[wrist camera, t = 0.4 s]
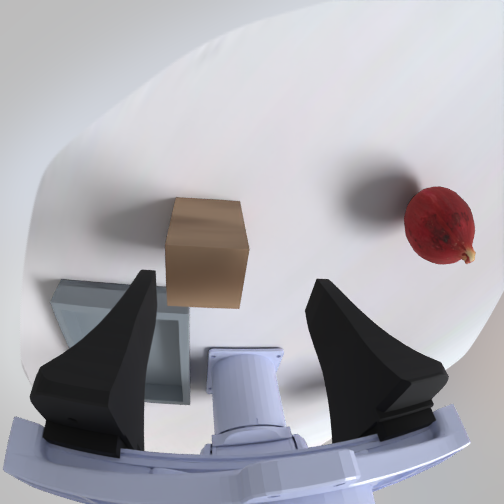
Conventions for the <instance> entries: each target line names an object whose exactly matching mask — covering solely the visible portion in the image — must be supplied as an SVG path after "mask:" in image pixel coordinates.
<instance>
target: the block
mask: <svg viewBox="0 0 504 504" xmlns="http://www.w3.org/2000/svg"><path fill="white" fill-rule="evenodd" d="M248 255H249V245H248V240H247V235H246V230H245V224H244V219H243V214H242V209H241V204H240V201H228V200H213V199H198V198H180V197H176V199H175V203H174V207H173V212H172V216H171V220H170V225H169V229H168V233H167V238H166V243H165V265H166V291H167V306H182V307H203V308H233V309H239V307H240V302H241V296H242V290H243V284H244V278H245V272H246V266H247V260H248Z"/></svg>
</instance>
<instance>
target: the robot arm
mask: <svg viewBox="0 0 504 504" xmlns="http://www.w3.org/2000/svg"><path fill="white" fill-rule="evenodd" d="M305 313H306V319H307V324H308V329H309V332H310V336H311V339H312V342H313V345H314V348H315V350H316V353H317V356H318V359H319V362H320V365H321V369H322V372H323V376H324V381H325V386H326V391H327V397H328V404H329V411H330V419H331V430H332V444H328V445H322V446H316V447H309V448H308V446H307V443H306V441H305V439H304V438H302V437H301V436H300V435H298V434H294V435H292V434H291V429H290V427H286V422H285V417H284V412H283V407H282V402H281V397H280V392H279V387H278V383H277V378H276V372H277V370H278V367H279V364H280V362H281V359H282V357H283V354H284V351H283V349H281V348H276V349H210V350H209V354H208V369H207V385H206V392H207V393H208V394H212V397H213V415H214V430H215V435H212V444H206V445H205V447H204V448H203V449H202V450H201V453H200V455H195V454H172V453H158V452H148V451H144V399H145V381H146V371H147V365H148V360H149V354H150V350H151V345H152V340H153V335H154V330H155V325H156V316H157V290H156V271H154V270H141V271H140V272H139V273H138V275H137V276H136V278H135V279H134V281H133V282H132V284H131V285H130V286H129V288H128V289H127V291H126V292H125V293H124V294H123V296H122V297H121V298H120V300H119V301H118V302H117V303H116V305H115V306H114V307H113V308H112V309H111V311H110V312H109V313H108V314H107V315H106V316H105V317H104V318H103V319H102V321H101V322H100V323H99V324H98V325H97V326H96V327H95V328H94V329H92V330H91V331H90V332H89V333H88V334H87V335H86V336H85V337H84V338H82V339H81V340H80V341H79V342H78V343H76V344H75V345H74V346H72V347H71V348H70V349H68V350H67V351H65V352H64V353H63V354H61V355H60V356H58V357H56V358H55V359H53V360H51V361H50V362H48V363H46V364H45V365H43V366H41V367H40V369H39V371H38V373H37V375H36V378H35V381H34V384H33V387H32V391H31V394H30V400H31V402H32V404H33V405H34V407H35V408H36V409H37V410H38V412H39V413H40V414H41V415H42V416H43V417H44V418H45V419H46V424H45V427H43V426H42V425H40V424H37V423H35V422H32V421H28V420H25V419H22V418H19V417H14V420H13V424H12V427H11V432H10V436H9V440H8V445H7V450H6V455H5V460H4V466H3V470H4V471H5V472H6V473H8V474H10V475H11V476H13V477H15V478H17V479H18V480H20V481H22V482H24V483H26V484H28V485H30V486H32V487H34V488H37V489H39V490H42V491H45V492H48V493H51V494H54V495H57V496H60V497H64V498H67V499H70V500H74V501H77V502H81V503H85V504H375V500H374V497H373V493H372V492H374V491H377V490H379V489H382V488H385V487H387V486H390V485H392V484H395V483H397V482H400V481H402V480H405V479H407V478H409V477H411V476H414V475H416V474H418V473H421V472H423V471H425V470H427V469H429V468H431V467H433V466H436V465H437V464H440V463H441V462H443V461H445V460H446V459H448V458H449V457H451V456H453V455H454V454H455V453H457V452H459V451H460V450H462V449H463V448H465V447H466V446H467V445H469V444H470V439H469V437H468V435H467V432H466V430H465V428H464V426H463V424H462V421H461V419H460V417H459V415H458V413H457V411H456V409H455V407H454V405H453V404H450V405H448V406H445V407H442V408H440V409H437V410H436V411H434V412H432V409H431V407H432V406H433V402H432V398H433V397H434V396H435V395H436V394H437V393H438V392H439V391H440V390H441V389H442V388H443V387H444V386H445V384H446V383H447V381H448V377H449V376H448V374H447V373H446V371H445V369H444V367H443V365H442V363H441V362H439V361H437V360H434V359H432V358H430V357H427V356H425V355H423V354H421V353H419V352H417V351H415V350H413V349H411V348H410V347H408V346H406V345H405V344H403V343H401V342H400V341H398V340H397V339H395V338H394V337H392V336H391V335H389V334H388V333H387V332H385V331H384V330H383V329H381V328H380V327H379V326H378V325H376V324H375V323H374V322H373V321H372V320H371V319H369V318H368V317H367V316H366V315H365V314H364V313H363V312H362V311H361V310H360V309H358V308H357V307H356V306H355V305H354V304H353V303H352V302H351V301H350V300H349V299H348V298H347V297H346V296H345V295H344V294H343V293H342V292H341V291H340V290H339V289H338V288H337V287H336V286H335V285H334V284H333V283H332V282H331V281H330V280H329V279H316V282H315V285H314V288H313V290H312V293H311V296H310V298H309V301H308V304H307V307H306V309H305Z"/></svg>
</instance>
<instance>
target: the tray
mask: <svg viewBox="0 0 504 504" xmlns="http://www.w3.org/2000/svg"><path fill="white" fill-rule="evenodd" d="M129 286H130V285H126V284H112V283H99V282H87V281H76V280H65V279H61V281H60V283H59V285H58V287H57V289H56V291H55V293H54V295H53V297H52V299H51V301H50V303H51V306H52V308H53V311H54V313H55V316H56V318H57V321H58V323H59V326H60V328H61V331H62V333H63V335H64V337H65V340H66V342H67V344H68V346H69V349H70V348H71V347H72V346H74V345H75V344H76V343H78V342H79V341H80V340H81V339H82V338H84V337H85V336H86V335H87V334H88V333H89V332H90V331H91V330H92V329H94V328H95V327H96V326H97V325H98V324H99V323H100V322H101V321H102V319H103V318H104V317H105V316H106V315H107V314H108V313H109V312H110V311H111V309H112V308H113V307H114V306H115V305H116V303H117V302H118V301H119V300H120V298H121V297H122V296H123V294H124V293H125V292H126V291H127V289H128V288H129ZM156 290H157V316H156V325H155V330H154V335H153V340H152V345H151V350H150V354H149V360H148V365H147V371H146V381H145V399H144V402H150V403H163V404H180V405H190V346H189V312H190V307H182V306H167V291H166V287H156Z"/></svg>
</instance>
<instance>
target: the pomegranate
mask: <svg viewBox="0 0 504 504" xmlns="http://www.w3.org/2000/svg"><path fill="white" fill-rule="evenodd" d="M404 225H405V233H406V237H407V239H408V241H409V243H410V245H411V246H412V248H413V250H414V251H415V252H416V253H417V254H418V255H419V256H420V257H422V258H423V259H425V260H428V261H430V262H432V263H435V264H451V263H455V262H457V261H459V260H461V259H462V260H464V261H465V263H466V264H468V263H471V262H473V261H474V259H475V254H476V252H475V251H474V250H473V247H472V243H473V239H474V234H475V225H474V220H473V215H472V212H471V209H470V208H469V206H468V205H467V203H466V202H465V201H464V200H463V199H462V198H461V197H460V196H459V195H458V194H457V193H456V192H454V191H452V190H450V189H448V188H444V187H430V188H426V189H423V190H422V191H420V192H419V193H418V194H416V195H415V196H414V197H413V198H412V200H411V201H410V202H409V204H408V206H407V208H406V212H405V216H404Z"/></svg>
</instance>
